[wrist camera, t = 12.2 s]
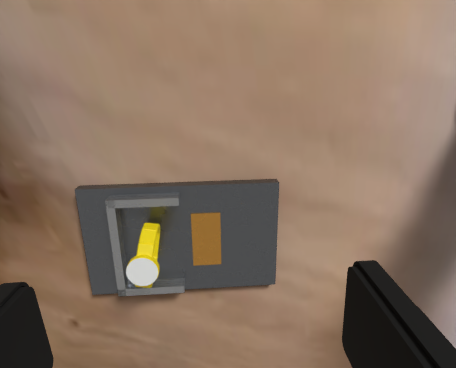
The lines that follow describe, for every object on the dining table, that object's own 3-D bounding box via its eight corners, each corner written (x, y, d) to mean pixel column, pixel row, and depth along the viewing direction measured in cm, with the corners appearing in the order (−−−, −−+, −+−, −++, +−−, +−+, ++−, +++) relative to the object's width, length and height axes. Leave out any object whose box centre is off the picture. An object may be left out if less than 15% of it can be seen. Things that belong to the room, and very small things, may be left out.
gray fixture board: (276, 179, 33) (282, 187, 31) (272, 278, 37) (278, 292, 34) (79, 185, 32) (68, 194, 29) (96, 287, 36) (87, 303, 33)
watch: (163, 267, 34) (155, 304, 28) (137, 265, 34) (123, 302, 28) (168, 216, 32) (161, 244, 27) (140, 213, 32) (127, 241, 26)
